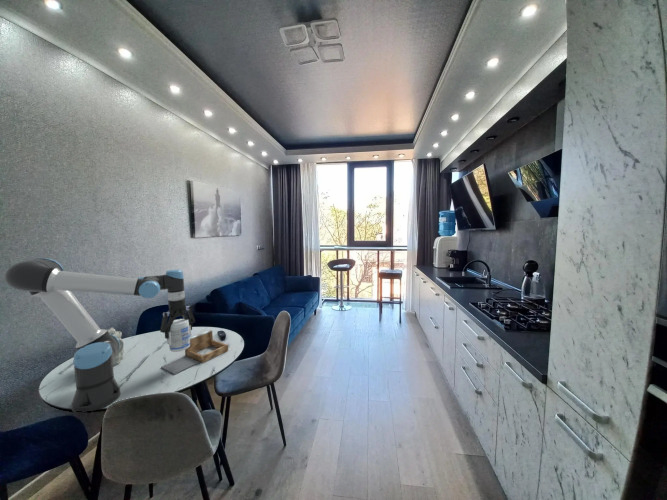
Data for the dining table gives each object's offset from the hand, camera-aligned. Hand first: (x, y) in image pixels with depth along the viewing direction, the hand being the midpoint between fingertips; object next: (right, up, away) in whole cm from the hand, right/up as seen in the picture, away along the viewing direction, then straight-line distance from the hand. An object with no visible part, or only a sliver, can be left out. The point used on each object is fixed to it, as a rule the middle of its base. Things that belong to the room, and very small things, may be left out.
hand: (179, 340), depth 134 cm
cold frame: (+7, -13, +14) cm, 21 cm away
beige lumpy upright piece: (-40, -15, +3) cm, 42 cm away
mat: (0, -14, +1) cm, 14 cm away
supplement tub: (0, -5, 0) cm, 5 cm away
